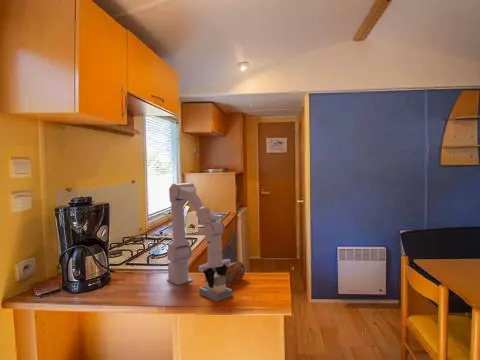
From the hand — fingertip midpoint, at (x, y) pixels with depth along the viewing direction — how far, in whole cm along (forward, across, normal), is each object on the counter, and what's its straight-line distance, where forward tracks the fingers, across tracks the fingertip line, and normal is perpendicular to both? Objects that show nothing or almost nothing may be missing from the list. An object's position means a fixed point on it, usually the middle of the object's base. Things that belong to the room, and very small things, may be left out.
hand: (215, 285), depth 138 cm
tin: (+4, +14, +6) cm, 16 cm away
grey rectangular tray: (+4, 0, 0) cm, 4 cm away
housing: (+2, 0, 0) cm, 2 cm away
